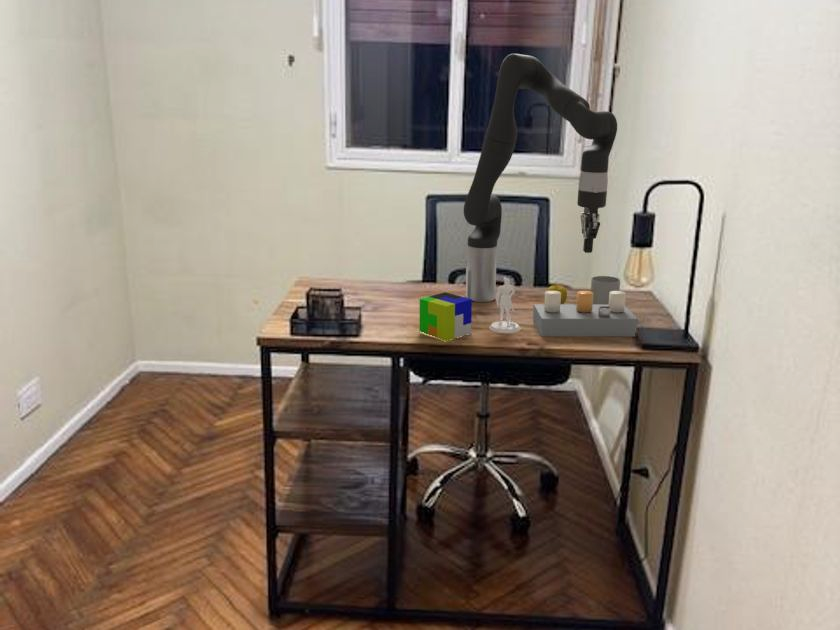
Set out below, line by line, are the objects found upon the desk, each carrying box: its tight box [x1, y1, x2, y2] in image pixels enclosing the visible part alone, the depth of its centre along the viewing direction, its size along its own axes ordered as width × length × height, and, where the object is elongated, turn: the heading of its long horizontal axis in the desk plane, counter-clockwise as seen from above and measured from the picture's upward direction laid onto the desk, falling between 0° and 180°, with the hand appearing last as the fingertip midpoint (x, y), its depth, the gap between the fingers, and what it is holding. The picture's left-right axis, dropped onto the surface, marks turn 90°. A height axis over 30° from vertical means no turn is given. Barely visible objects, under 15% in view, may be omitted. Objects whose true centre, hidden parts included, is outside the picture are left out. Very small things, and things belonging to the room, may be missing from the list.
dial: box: [598, 306, 611, 318], centre depth 206 cm, size 3×3×3 cm
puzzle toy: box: [419, 292, 473, 341], centre depth 206 cm, size 10×10×10 cm
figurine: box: [488, 276, 521, 334], centre depth 210 cm, size 9×9×15 cm
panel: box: [532, 303, 638, 337], centre depth 212 cm, size 26×14×5 cm, turn 91°
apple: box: [546, 284, 568, 304], centre depth 230 cm, size 6×6×8 cm
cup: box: [590, 275, 621, 304], centre depth 228 cm, size 8×8×10 cm
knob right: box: [609, 291, 627, 313], centre depth 211 cm, size 4×4×9 cm
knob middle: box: [576, 290, 594, 313], centre depth 211 cm, size 4×4×9 cm
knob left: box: [543, 290, 561, 313], centre depth 211 cm, size 4×4×9 cm
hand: (587, 252), depth 207 cm, fingers closed
